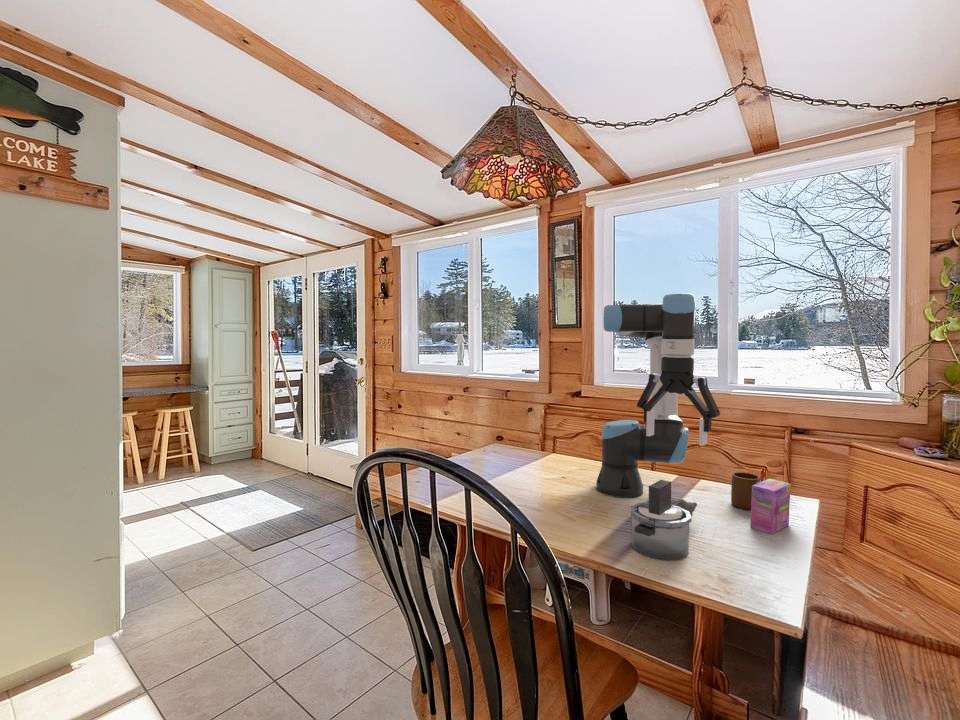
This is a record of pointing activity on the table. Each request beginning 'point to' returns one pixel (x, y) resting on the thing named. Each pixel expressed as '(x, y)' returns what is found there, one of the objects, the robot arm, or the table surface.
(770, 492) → the box
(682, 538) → the pot
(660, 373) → the robot arm
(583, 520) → the table surface
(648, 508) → the lid
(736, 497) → the mug
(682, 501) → the fossil
